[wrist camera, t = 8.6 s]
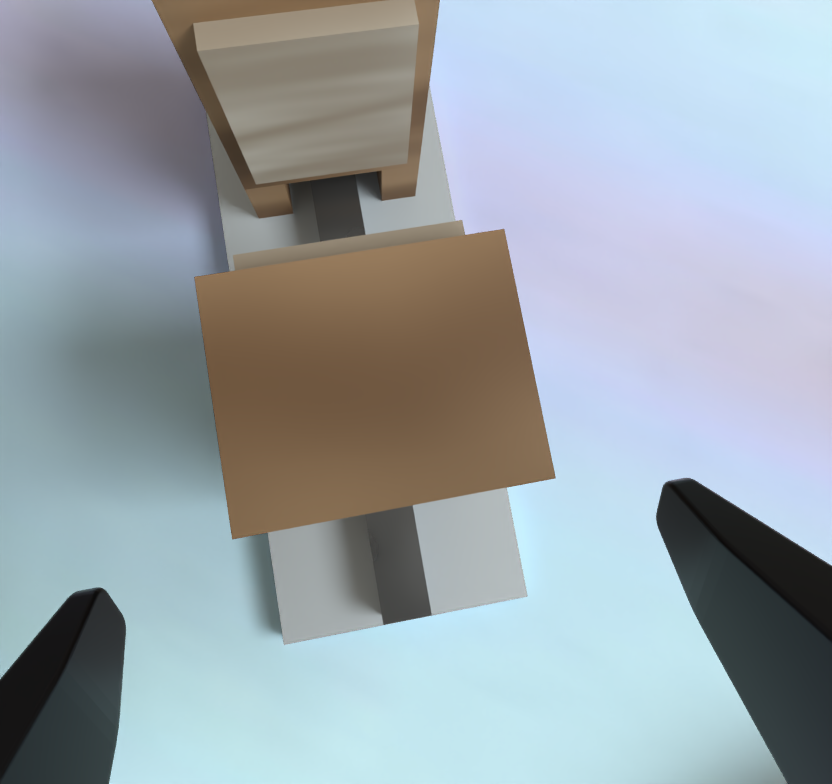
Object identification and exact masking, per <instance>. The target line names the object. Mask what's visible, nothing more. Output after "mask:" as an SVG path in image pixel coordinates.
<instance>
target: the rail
mask: <svg viewBox="0 0 832 784" xmlns="http://www.w3.org/2000/svg"><path fill="white" fill-rule="evenodd" d="M310 183H311V189H312V196H313V202H314V208H315V214H316V220H317V226H318V232H319V238H320V242H322V241H328V240H335V239H341V238H348V237H354V236H361V235H366V234H365V228H364V223H363V217H362V211H361V205H360V200H359V194H358V188H357V182H356V177H355V174H353V175H346V176H339V177H332V178H325V179H318V180H311V181H310ZM365 517H366V523H367V529H368V535H369V541H370V547H371V553H372V559H373V565H374V571H375V577H376V583H377V590H378V596H379V602H380V608H381V614H382V620H383V625H385V624H390V623H395V622H400V621H405V620H410V619H415V618H420V617H426V616H431V615H432V613H431V607H430V602H429V596H428V590H427V584H426V579H425V573H424V567H423V561H422V556H421V550H420V544H419V538H418V533H417V527H416V521H415V515H414V510H413V505H411V506H406V507H401V508H395V509H390V510H385V511H380V512H374V513H369V514H365Z"/></svg>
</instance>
